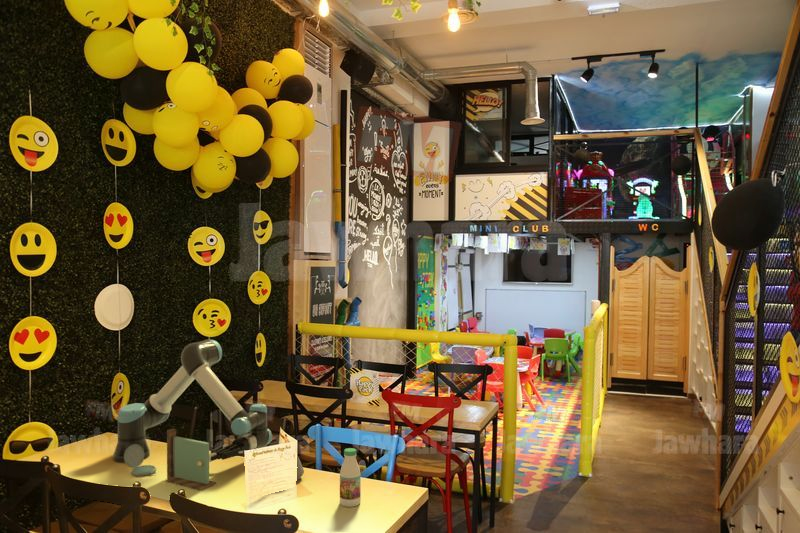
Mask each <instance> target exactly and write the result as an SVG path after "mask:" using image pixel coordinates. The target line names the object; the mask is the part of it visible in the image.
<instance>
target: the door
mask: <svg viewBox="0 0 800 533" xmlns="http://www.w3.org/2000/svg"><path fill="white" fill-rule="evenodd" d="M209 454H210V442H207V441H201V440H196V439H192V438H188V437H187V438H186V437H181V436H177V435H176V436H174V437H173V476H175V477H179V478H183V479H188V480H192V481H196V482H200V483H204V484H208V483H209V480H210V462H209Z"/></svg>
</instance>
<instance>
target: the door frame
mask: <svg viewBox="0 0 800 533" xmlns="http://www.w3.org/2000/svg"><path fill="white" fill-rule="evenodd" d="M174 436H177V428H171V429H168V430H166V479H165V482H167V483H170V484H174V485H177V486H182V487H185V488H189V489H193V490H198V491H204V490H207V489H209V488H211V487H213V486H216V485H217V484H218V483H217V481H213V480H210V479H209V483H208V484H204V483H200V482H196V481H192V480H188V479H183V478H179V477H175V476H173V437H174Z"/></svg>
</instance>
